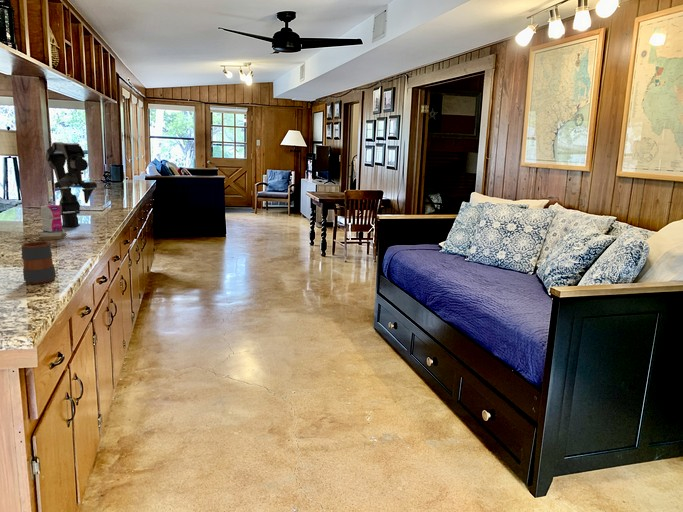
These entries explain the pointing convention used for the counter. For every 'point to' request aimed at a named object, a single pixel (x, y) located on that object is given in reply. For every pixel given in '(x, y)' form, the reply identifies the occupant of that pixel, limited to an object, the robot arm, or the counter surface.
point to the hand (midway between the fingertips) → (77, 203)
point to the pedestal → (52, 235)
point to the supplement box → (51, 218)
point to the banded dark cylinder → (37, 263)
